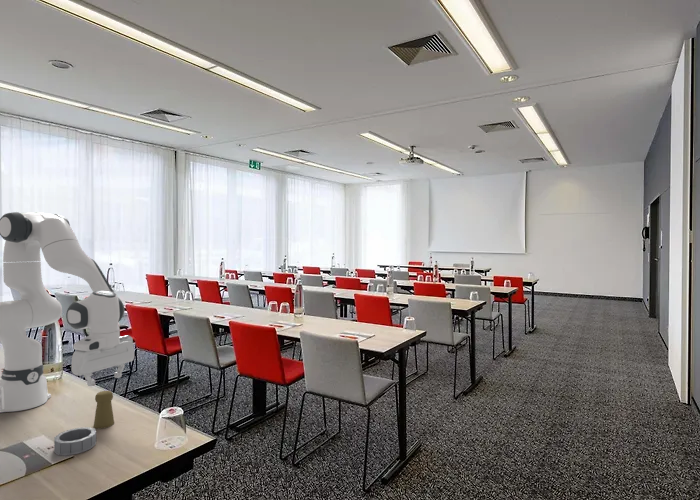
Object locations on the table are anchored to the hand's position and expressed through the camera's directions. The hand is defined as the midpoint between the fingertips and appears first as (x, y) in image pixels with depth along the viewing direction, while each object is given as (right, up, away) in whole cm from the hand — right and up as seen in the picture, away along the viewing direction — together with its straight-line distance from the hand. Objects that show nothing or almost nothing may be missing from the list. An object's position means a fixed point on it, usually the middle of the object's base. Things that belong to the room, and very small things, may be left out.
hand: (105, 381), depth 143 cm
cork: (-1, -15, 0) cm, 15 cm away
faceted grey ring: (0, -15, -15) cm, 21 cm away
